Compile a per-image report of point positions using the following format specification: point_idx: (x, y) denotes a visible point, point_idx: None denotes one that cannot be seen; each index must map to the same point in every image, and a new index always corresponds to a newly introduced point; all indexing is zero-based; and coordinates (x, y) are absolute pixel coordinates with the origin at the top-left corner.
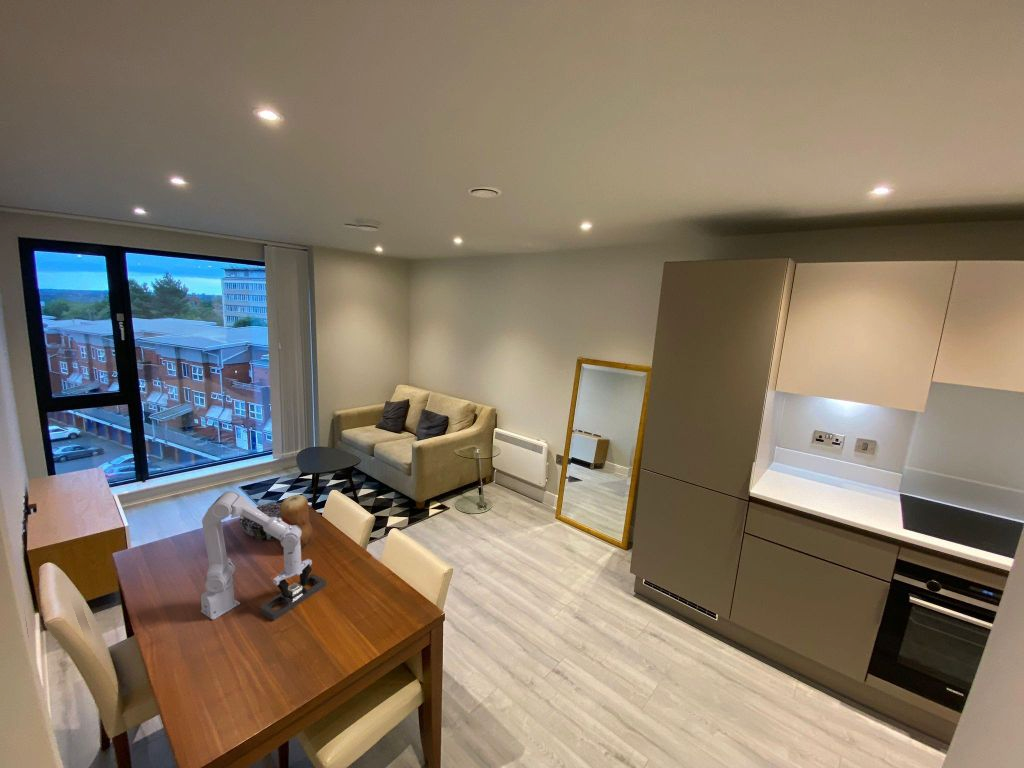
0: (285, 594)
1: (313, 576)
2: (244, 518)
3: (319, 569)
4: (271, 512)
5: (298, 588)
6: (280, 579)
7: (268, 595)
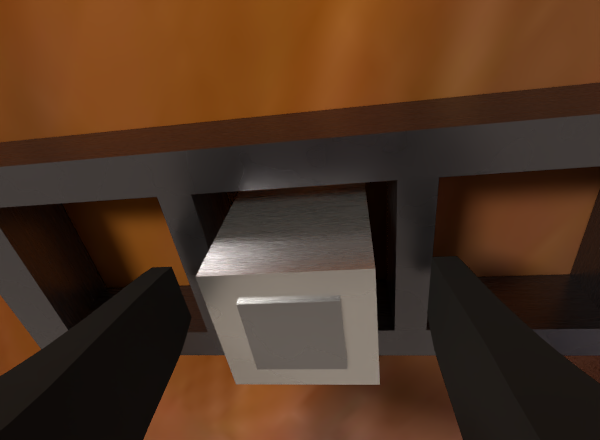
0: (498, 298)
1: (44, 321)
2: None
3: (13, 349)
4: None
5: (262, 269)
6: None
7: (412, 389)
